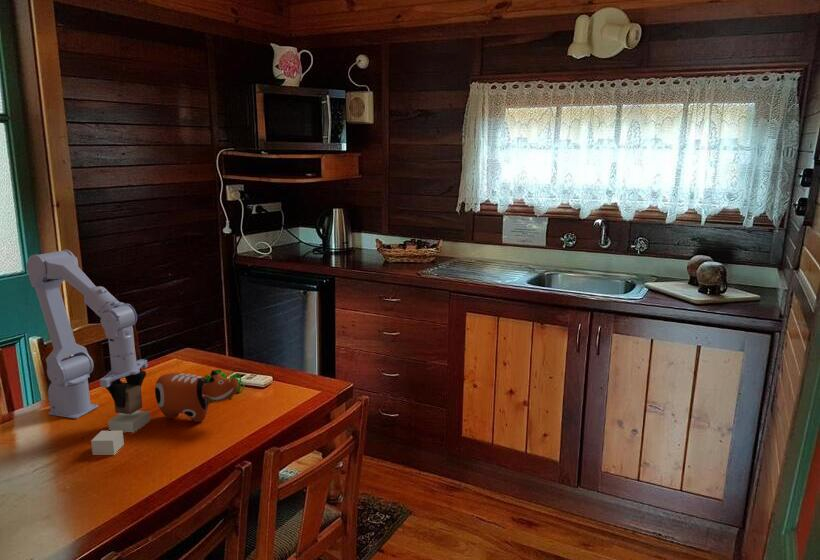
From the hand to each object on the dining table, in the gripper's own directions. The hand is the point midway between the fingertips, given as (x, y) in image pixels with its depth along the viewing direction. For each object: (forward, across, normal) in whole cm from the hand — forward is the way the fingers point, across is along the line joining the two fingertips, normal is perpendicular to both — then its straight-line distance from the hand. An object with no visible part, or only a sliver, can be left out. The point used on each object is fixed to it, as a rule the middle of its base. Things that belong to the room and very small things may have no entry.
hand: (127, 402), depth 150 cm
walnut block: (+2, 0, 0) cm, 2 cm away
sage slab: (+7, 0, 0) cm, 7 cm away
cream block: (+7, -12, -4) cm, 14 cm away
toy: (+7, +7, -16) cm, 19 cm away
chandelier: (+7, +25, -10) cm, 28 cm away
